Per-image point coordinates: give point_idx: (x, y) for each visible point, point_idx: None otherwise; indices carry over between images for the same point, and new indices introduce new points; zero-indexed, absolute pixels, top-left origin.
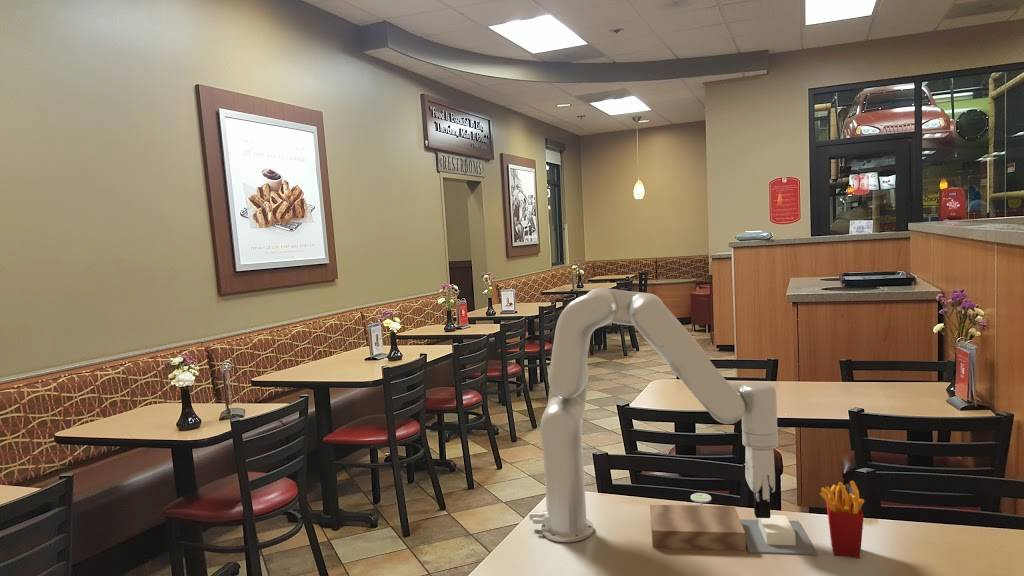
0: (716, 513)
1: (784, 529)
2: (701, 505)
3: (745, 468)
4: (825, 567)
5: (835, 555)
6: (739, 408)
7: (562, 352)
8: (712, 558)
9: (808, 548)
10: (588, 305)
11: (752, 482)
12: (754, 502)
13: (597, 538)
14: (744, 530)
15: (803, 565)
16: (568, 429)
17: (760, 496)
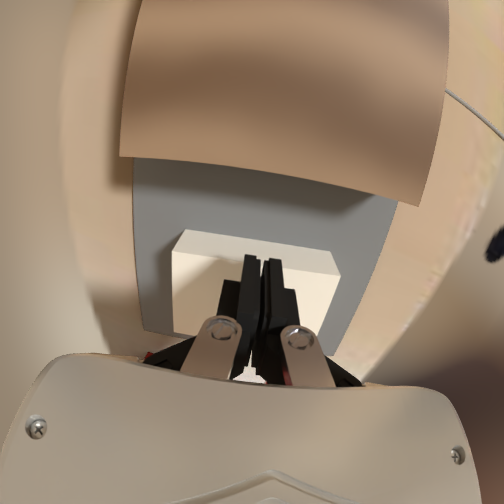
0: (359, 79)
1: (197, 315)
2: (500, 134)
3: (464, 454)
4: (94, 314)
5: (148, 353)
6: None
7: None
8: (110, 32)
9: (167, 324)
10: None
11: (24, 425)
12: (270, 300)
13: None
14: (306, 188)
15: (90, 278)
16: None
17: (145, 362)
